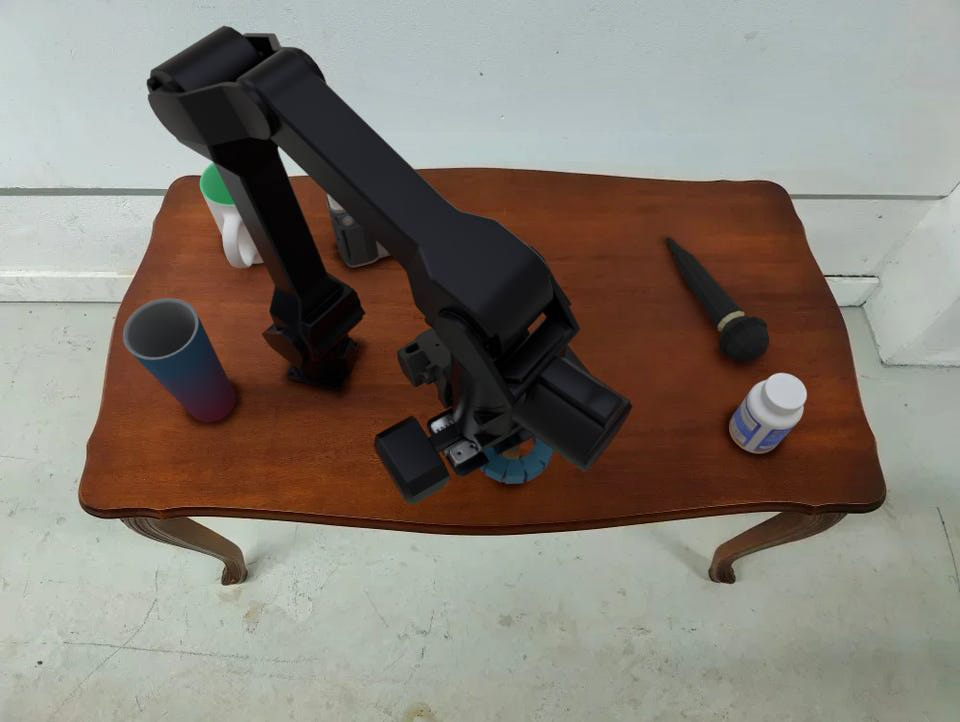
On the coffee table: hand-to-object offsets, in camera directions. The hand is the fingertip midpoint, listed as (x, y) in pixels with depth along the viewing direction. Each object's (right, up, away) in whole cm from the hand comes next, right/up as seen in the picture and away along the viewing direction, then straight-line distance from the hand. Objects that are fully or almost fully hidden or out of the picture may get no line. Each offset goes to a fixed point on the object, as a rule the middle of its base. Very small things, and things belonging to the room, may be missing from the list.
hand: (485, 455), depth 66 cm
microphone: (+27, +16, +19) cm, 37 cm away
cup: (-30, +4, +12) cm, 33 cm away
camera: (-13, +23, +23) cm, 35 cm away
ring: (+3, +1, +2) cm, 3 cm away
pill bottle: (+29, +1, +11) cm, 31 cm away
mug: (-28, +23, +22) cm, 43 cm away
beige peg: (+3, -3, +8) cm, 9 cm away
